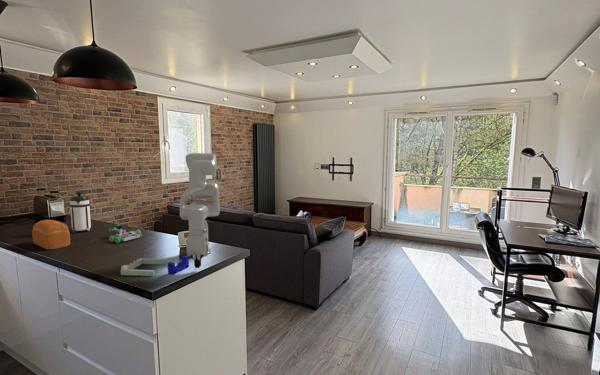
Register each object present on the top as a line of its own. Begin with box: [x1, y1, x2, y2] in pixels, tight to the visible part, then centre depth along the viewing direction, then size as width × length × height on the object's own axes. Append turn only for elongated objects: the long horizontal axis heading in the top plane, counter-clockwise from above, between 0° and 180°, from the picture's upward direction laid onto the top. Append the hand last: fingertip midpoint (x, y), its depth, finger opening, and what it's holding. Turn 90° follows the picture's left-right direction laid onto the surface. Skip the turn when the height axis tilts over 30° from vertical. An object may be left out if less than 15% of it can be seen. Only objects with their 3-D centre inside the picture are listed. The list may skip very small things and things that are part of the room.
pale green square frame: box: [120, 258, 171, 277], centre depth 166 cm, size 17×17×4 cm
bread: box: [31, 219, 71, 250], centre depth 208 cm, size 14×26×16 cm, turn 56°
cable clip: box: [167, 255, 190, 276], centre depth 165 cm, size 12×4×6 cm, turn 160°
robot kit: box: [108, 224, 143, 244], centre depth 224 cm, size 19×25×9 cm
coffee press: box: [68, 191, 92, 234], centre depth 244 cm, size 17×16×30 cm
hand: (197, 267), depth 164 cm, fingers closed
